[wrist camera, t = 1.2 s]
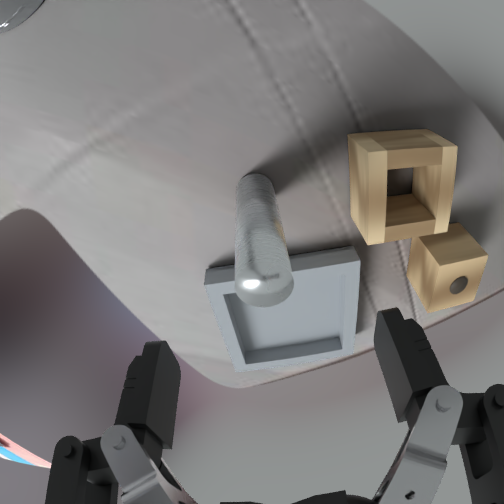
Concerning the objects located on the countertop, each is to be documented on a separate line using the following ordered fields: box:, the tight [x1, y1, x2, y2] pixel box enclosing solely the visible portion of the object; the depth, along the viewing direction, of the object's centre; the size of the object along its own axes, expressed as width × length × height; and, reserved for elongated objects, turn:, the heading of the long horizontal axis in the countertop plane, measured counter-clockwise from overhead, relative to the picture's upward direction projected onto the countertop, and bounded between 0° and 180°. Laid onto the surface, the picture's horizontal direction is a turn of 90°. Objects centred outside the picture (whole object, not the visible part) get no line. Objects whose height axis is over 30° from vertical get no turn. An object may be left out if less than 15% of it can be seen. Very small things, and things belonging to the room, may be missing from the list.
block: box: [406, 222, 488, 313], centre depth 24 cm, size 5×5×5 cm
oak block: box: [347, 129, 458, 245], centre depth 20 cm, size 6×6×4 cm
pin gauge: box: [235, 173, 294, 307], centre depth 18 cm, size 3×3×10 cm
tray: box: [204, 246, 360, 372], centre depth 28 cm, size 12×12×2 cm
